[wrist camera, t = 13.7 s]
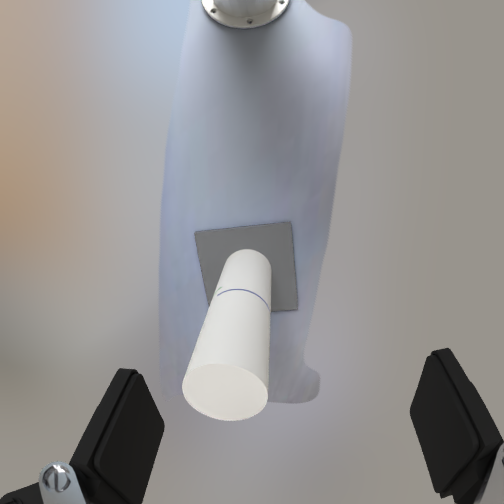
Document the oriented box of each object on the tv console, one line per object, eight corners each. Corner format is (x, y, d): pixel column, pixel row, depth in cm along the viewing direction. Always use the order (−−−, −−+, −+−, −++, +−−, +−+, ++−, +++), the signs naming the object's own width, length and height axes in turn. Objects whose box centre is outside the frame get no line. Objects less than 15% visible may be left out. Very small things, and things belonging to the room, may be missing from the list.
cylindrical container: (279, 281, 48) (281, 409, 24) (238, 299, 49) (210, 427, 26) (258, 241, 46) (241, 352, 22) (215, 261, 47) (165, 376, 24)
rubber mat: (195, 231, 47) (194, 233, 46) (290, 221, 45) (290, 223, 44) (211, 313, 51) (211, 315, 51) (297, 306, 50) (297, 309, 49)
